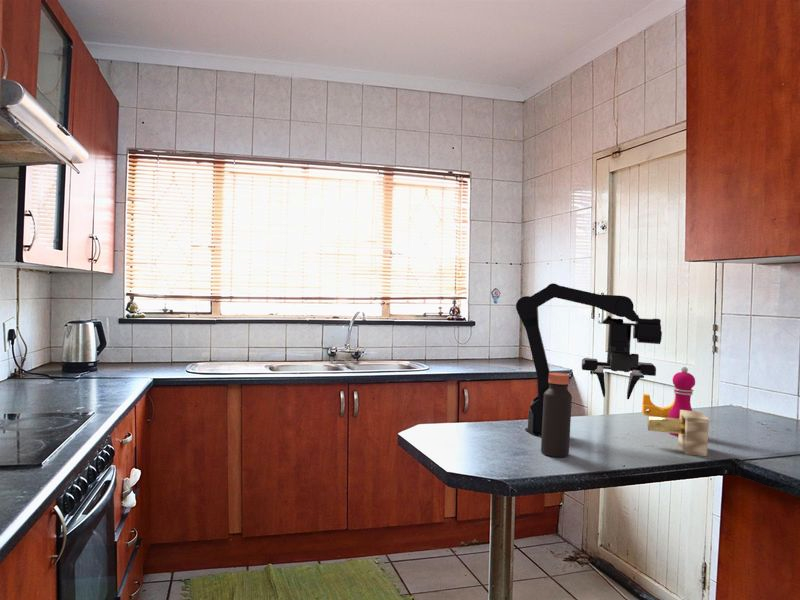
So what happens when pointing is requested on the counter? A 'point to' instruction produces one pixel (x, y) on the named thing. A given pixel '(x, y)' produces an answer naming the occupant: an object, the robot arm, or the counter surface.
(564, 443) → the bottle
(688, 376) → the pepper mill
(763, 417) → the counter surface
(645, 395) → the pipe clamp
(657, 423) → the tan wooden bar
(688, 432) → the beige lumpy block
